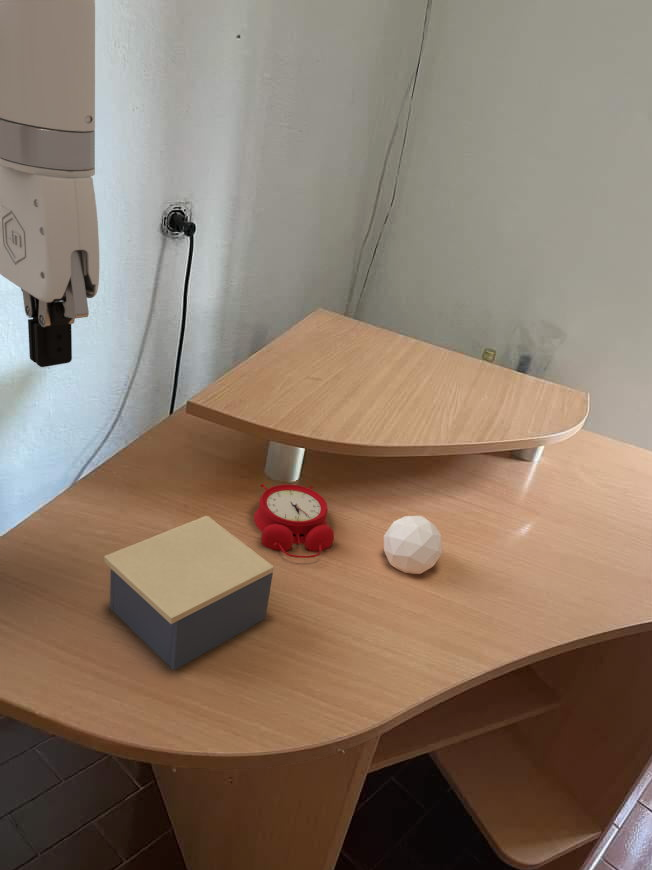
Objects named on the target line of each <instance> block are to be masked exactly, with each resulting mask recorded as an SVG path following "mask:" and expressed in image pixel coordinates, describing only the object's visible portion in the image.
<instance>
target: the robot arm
mask: <svg viewBox="0 0 652 870" xmlns="http://www.w3.org/2000/svg"><path fill="white" fill-rule="evenodd" d="M95 130H96V0H0V275H1V276H2V277H3V278H5V279H6V280H8V281H9V282H11V283H13V284H14V285H16V286H17V287H18V288H20V290H21V292H22V299H23V306H24V313H25V316H26V317H27V318H29V319H27V327H28V328H27V329H28V349H29V359H30V360H31V361H32V362H33V363H35V364H36V365H37V366H39V367H40V368H47V367H52V366H58V365H64V364H70V363H71V362H72V359H73V345H72V344H73V341H72V339H73V338H72V324H73V325H74V324H75V319H83V318H88V317H89V314H90V313H89V305H88V304H89V303H88V299H93V298H94V297H95V296H96V295H97V294H98V291H99V285H100V239H99V238H100V237H99V221H98V211H97V204H96V202H97V201H96V193H95V185H94V179H93V176H95V174H96V131H95Z"/></svg>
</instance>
